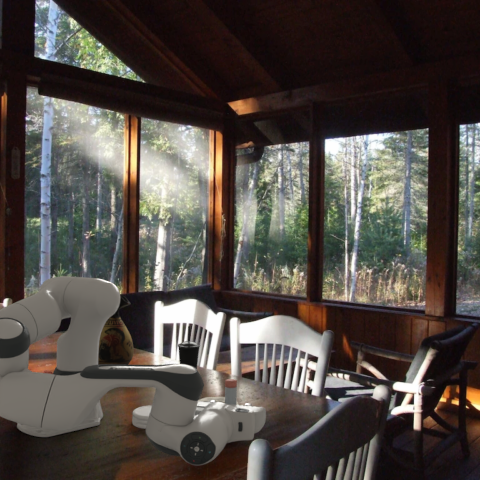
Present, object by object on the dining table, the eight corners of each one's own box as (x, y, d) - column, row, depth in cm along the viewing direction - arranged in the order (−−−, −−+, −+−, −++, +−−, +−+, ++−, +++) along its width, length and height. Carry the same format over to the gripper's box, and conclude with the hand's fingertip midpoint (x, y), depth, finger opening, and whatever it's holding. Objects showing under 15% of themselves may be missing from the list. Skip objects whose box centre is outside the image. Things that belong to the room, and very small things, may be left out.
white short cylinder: (152, 414, 151) (153, 402, 151) (176, 423, 145) (177, 410, 145) (124, 423, 143) (124, 410, 143) (148, 432, 137) (149, 419, 137)
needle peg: (230, 437, 134) (232, 382, 134) (221, 435, 136) (222, 380, 136) (238, 434, 137) (239, 380, 137) (229, 431, 138) (230, 378, 138)
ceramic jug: (138, 367, 203) (140, 290, 203) (125, 378, 188) (127, 294, 188) (95, 365, 205) (97, 288, 205) (79, 376, 190) (81, 292, 190)
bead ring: (219, 426, 142) (219, 413, 142) (186, 416, 150) (187, 403, 150) (246, 414, 152) (246, 402, 152) (214, 406, 159) (214, 394, 159)
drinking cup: (172, 385, 180) (173, 326, 180) (185, 380, 187) (186, 323, 187) (191, 388, 177) (192, 329, 177) (203, 383, 184) (204, 325, 184)
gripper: (173, 431, 125) (191, 413, 138) (259, 440, 120) (269, 420, 134) (174, 405, 125) (192, 389, 138) (259, 413, 120) (269, 395, 134)
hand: (230, 404), depth 136 cm, fingers open, 8 cm apart
